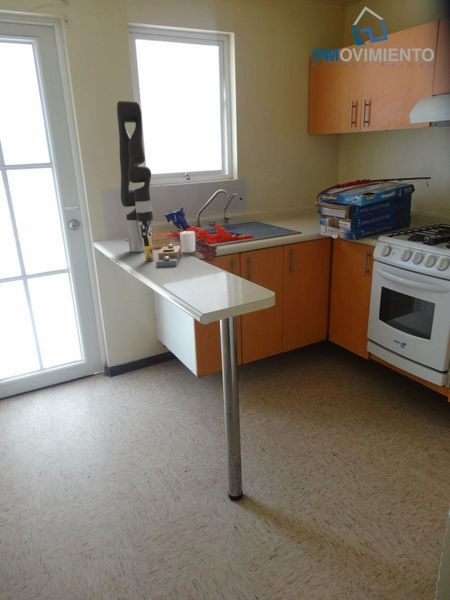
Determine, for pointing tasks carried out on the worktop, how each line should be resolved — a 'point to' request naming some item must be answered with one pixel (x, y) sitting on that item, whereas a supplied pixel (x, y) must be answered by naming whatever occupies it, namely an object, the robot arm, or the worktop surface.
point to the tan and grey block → (169, 256)
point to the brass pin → (148, 250)
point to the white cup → (187, 241)
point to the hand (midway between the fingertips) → (148, 244)
